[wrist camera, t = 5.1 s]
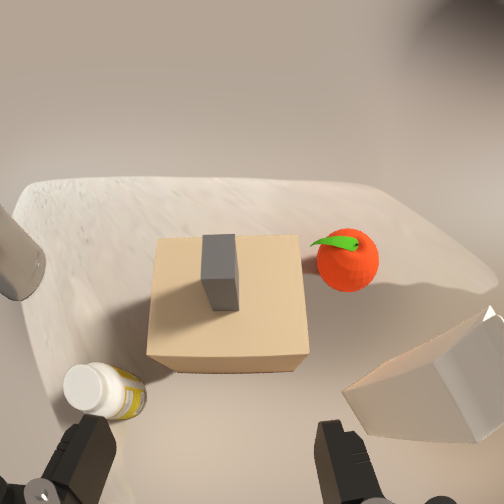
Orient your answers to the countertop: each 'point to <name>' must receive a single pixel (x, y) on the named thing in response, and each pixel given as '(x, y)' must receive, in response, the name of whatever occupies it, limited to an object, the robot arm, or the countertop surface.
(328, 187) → the countertop surface
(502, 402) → the milk
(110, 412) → the supplement bottle
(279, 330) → the lid
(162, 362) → the carton
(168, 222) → the countertop surface
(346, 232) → the clementine
